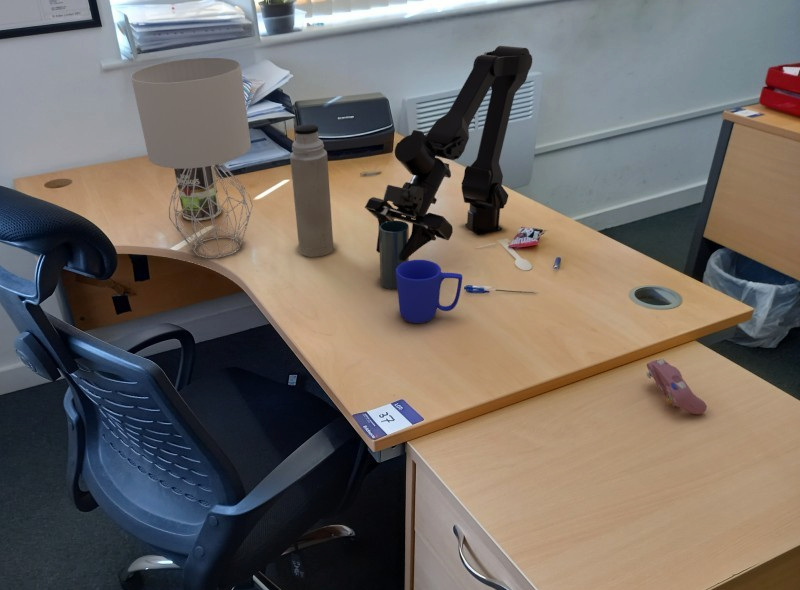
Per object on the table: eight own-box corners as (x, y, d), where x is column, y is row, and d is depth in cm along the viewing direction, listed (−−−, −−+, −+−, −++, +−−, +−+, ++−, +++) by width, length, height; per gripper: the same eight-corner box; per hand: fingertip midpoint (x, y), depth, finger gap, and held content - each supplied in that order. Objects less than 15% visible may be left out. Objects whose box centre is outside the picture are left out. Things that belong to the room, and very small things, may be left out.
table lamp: (187, 278, 150) (148, 89, 128) (158, 243, 167) (119, 70, 144) (279, 252, 158) (257, 68, 135) (242, 220, 175) (218, 53, 152)
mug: (459, 329, 126) (462, 281, 120) (393, 326, 128) (393, 279, 122) (460, 307, 132) (463, 260, 127) (398, 304, 135) (398, 258, 129)
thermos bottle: (308, 240, 162) (297, 120, 147) (338, 244, 159) (331, 122, 143) (293, 254, 157) (280, 131, 141) (324, 258, 154) (315, 133, 138)
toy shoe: (649, 387, 110) (637, 358, 107) (676, 374, 109) (665, 344, 106) (680, 426, 102) (669, 396, 99) (710, 413, 101) (700, 381, 98)
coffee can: (209, 222, 175) (200, 169, 167) (175, 219, 179) (164, 166, 171) (228, 207, 183) (220, 155, 175) (195, 204, 187) (186, 153, 179)
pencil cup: (401, 273, 145) (401, 218, 138) (413, 285, 141) (413, 228, 133) (376, 279, 144) (374, 224, 137) (387, 291, 139) (386, 234, 132)
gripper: (369, 158, 137) (334, 228, 137) (446, 176, 125) (408, 252, 126) (394, 184, 146) (362, 250, 146) (468, 203, 134) (433, 274, 134)
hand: (389, 255), depth 138 cm, fingers closed on pencil cup, 6 cm apart
